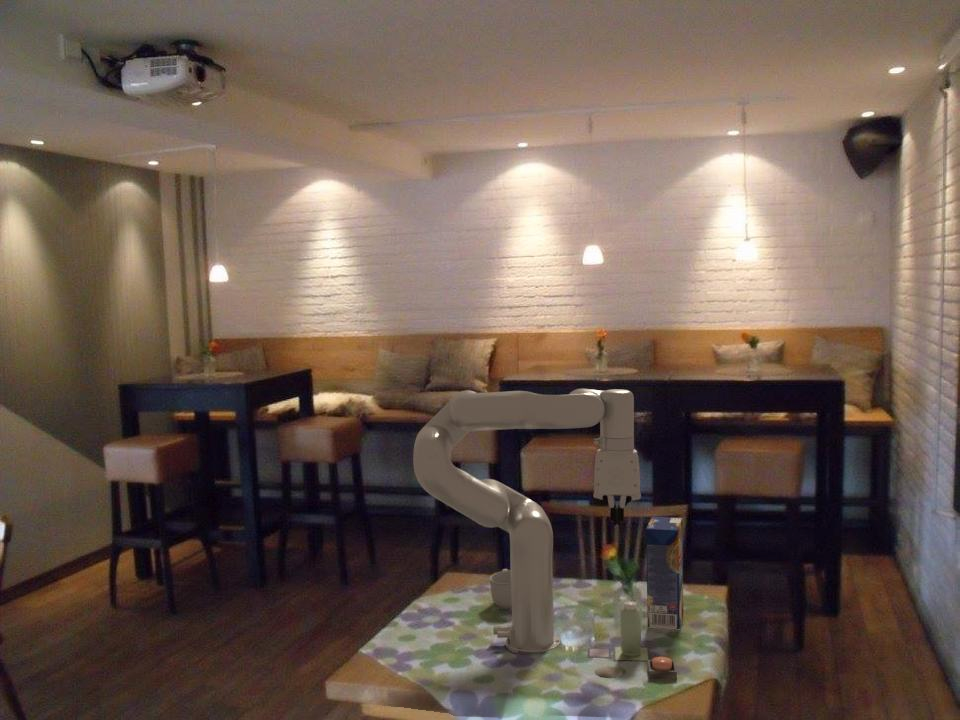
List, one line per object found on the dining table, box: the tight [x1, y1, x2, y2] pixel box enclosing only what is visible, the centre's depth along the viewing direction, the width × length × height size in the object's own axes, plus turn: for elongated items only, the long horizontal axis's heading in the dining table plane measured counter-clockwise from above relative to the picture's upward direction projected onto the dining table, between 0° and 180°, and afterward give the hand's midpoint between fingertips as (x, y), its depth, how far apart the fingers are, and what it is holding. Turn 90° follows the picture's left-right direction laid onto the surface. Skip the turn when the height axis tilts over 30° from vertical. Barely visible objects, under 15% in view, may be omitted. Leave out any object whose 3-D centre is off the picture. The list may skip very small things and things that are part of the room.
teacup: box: [489, 568, 512, 610], centre depth 237 cm, size 14×11×8 cm
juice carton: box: [645, 516, 685, 630], centre depth 222 cm, size 12×8×24 cm, turn 163°
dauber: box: [619, 601, 642, 657], centre depth 199 cm, size 4×4×11 cm
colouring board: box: [587, 646, 678, 681], centre depth 195 cm, size 20×20×3 cm
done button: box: [651, 656, 673, 671], centre depth 189 cm, size 4×4×2 cm
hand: (617, 523), depth 208 cm, fingers closed
